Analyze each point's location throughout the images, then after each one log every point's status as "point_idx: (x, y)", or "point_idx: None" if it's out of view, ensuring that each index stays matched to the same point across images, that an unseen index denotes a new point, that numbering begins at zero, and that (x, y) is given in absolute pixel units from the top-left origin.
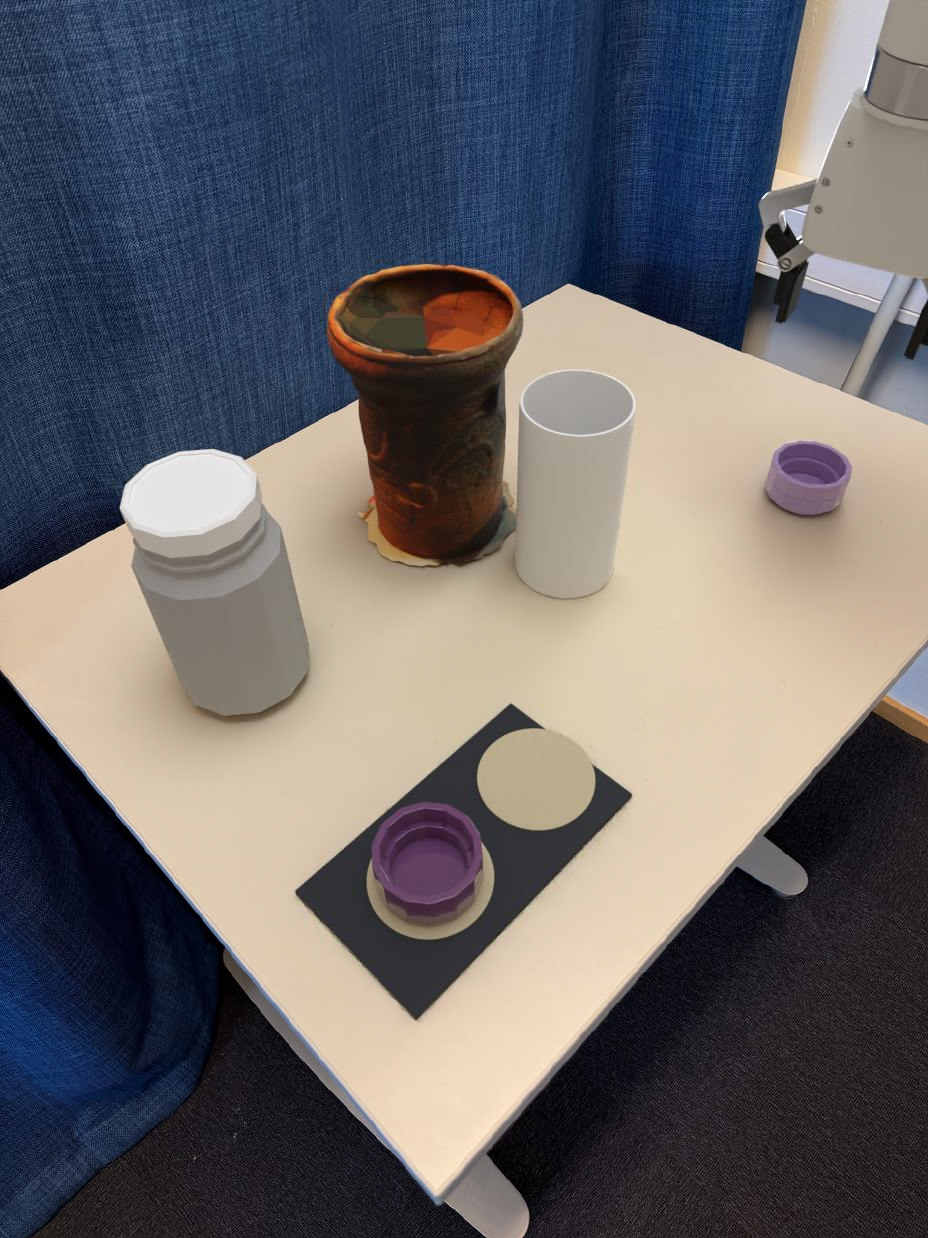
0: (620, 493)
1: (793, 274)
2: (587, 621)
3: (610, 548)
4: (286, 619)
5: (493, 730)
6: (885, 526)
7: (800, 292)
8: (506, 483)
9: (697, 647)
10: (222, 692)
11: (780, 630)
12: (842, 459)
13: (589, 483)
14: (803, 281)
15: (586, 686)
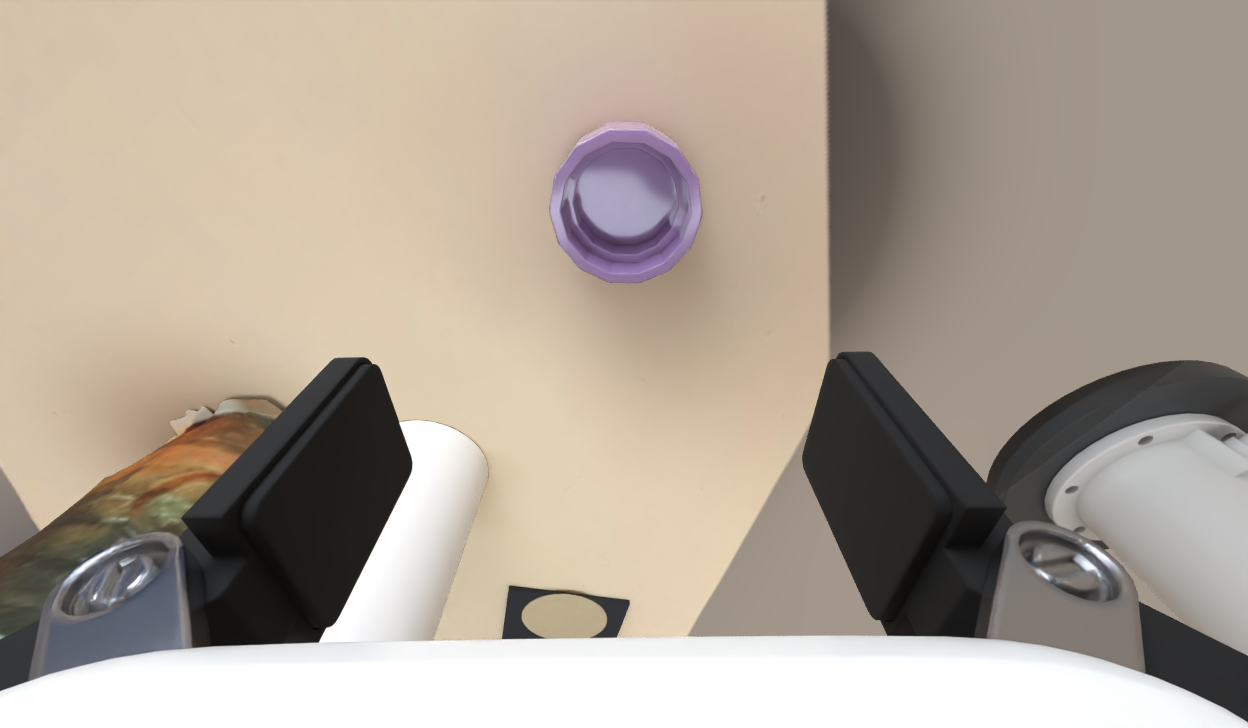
0: (445, 588)
1: (305, 642)
2: (504, 508)
3: (472, 515)
4: None
5: (514, 607)
6: (773, 204)
7: (347, 396)
8: (264, 400)
9: (612, 490)
10: None
11: (680, 442)
12: (675, 164)
13: None
14: (319, 433)
15: (548, 554)
